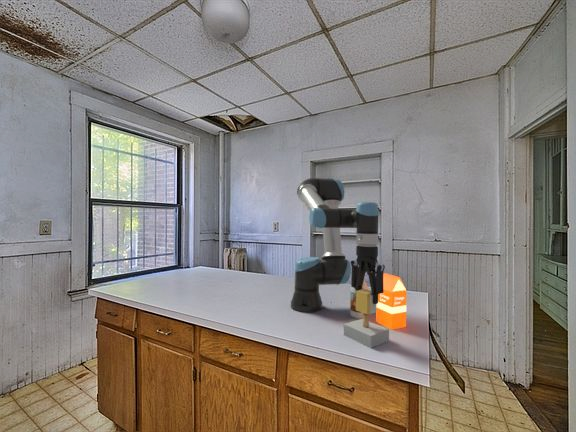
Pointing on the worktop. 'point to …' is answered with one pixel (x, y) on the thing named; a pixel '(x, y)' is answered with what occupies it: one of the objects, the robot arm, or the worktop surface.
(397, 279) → the orange juice
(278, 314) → the worktop surface
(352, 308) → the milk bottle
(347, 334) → the toggle switch box
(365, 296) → the yellow rectangular block
